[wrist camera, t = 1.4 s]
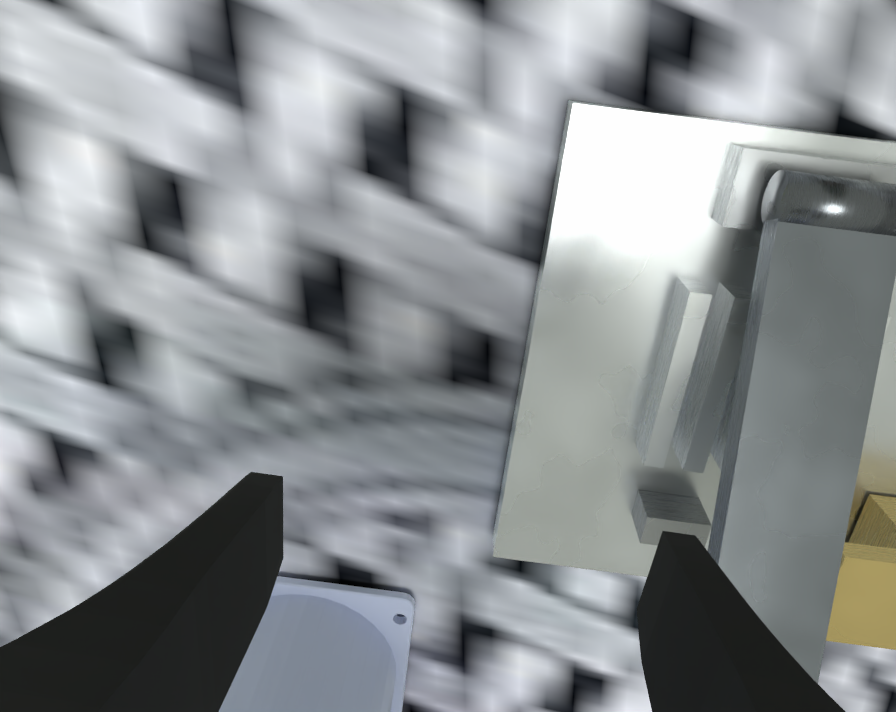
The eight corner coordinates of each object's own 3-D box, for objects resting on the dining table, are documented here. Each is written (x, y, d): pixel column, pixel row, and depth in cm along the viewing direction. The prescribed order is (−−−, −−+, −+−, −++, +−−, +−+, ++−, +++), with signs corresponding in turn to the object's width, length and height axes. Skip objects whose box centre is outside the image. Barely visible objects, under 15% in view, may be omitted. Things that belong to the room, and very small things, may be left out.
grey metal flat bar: (766, 174, 18) (793, 164, 16) (885, 189, 18) (921, 181, 16) (685, 649, 19) (703, 678, 17) (796, 664, 19) (823, 694, 17)
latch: (926, 579, 23) (994, 662, 20) (766, 558, 23) (809, 638, 20) (962, 506, 22) (1041, 582, 19) (794, 484, 22) (845, 556, 19)
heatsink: (903, 588, 25) (947, 646, 23) (492, 534, 25) (492, 587, 23) (1108, 167, 19) (1200, 185, 17) (568, 100, 19) (579, 107, 17)
